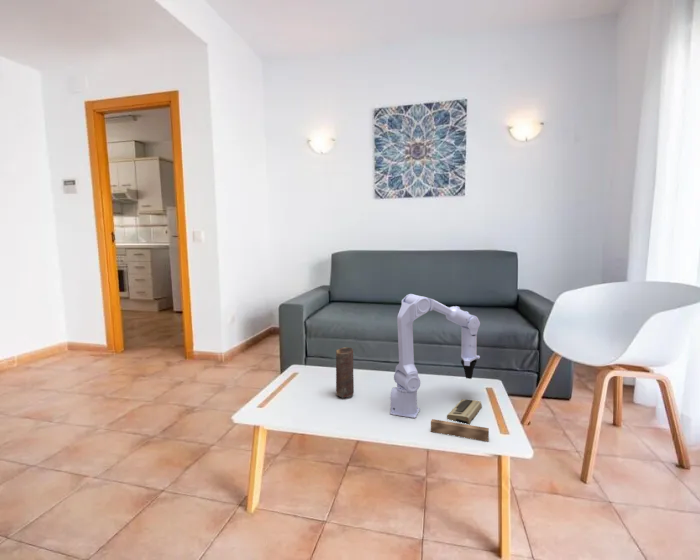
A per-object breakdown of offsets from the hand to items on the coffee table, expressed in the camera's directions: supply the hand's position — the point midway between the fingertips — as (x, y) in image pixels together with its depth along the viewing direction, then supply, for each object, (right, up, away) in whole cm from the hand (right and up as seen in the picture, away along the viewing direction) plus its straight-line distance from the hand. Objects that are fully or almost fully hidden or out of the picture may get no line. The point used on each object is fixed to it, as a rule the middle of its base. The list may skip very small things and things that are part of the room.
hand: (468, 378), depth 148 cm
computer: (-5, -11, -11) cm, 16 cm away
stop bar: (-12, -12, -26) cm, 31 cm away
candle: (-49, -10, +8) cm, 51 cm away
